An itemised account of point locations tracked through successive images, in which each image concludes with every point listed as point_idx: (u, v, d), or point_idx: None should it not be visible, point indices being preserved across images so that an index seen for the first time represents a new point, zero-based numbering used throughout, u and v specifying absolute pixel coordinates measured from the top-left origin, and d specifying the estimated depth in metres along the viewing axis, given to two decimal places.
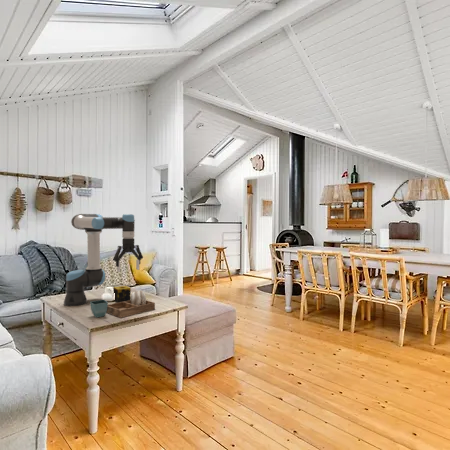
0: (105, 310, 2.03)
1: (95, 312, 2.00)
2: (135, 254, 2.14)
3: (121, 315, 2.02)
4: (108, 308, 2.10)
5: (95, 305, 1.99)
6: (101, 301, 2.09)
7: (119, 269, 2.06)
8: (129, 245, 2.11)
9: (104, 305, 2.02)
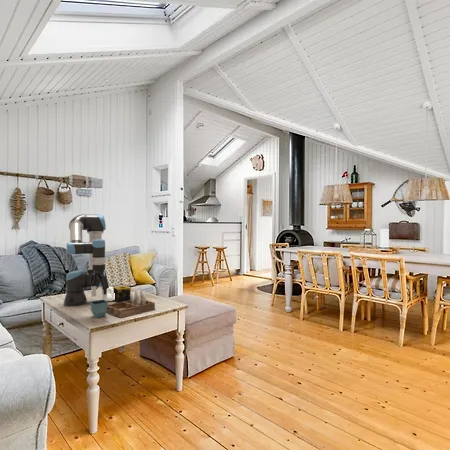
0: (105, 310, 2.03)
1: (95, 312, 2.00)
2: (100, 282, 2.00)
3: (121, 315, 2.02)
4: (108, 308, 2.10)
5: (95, 305, 1.99)
6: (101, 301, 2.09)
7: (91, 294, 2.08)
8: (97, 272, 2.03)
9: (104, 305, 2.02)
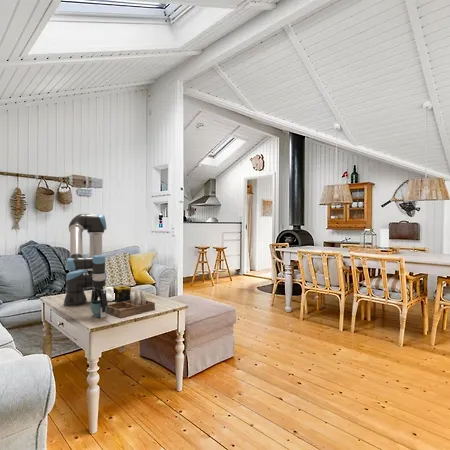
0: (105, 310, 2.03)
1: (95, 312, 2.00)
2: None
3: (121, 315, 2.02)
4: (108, 308, 2.10)
5: (95, 305, 1.99)
6: None
7: None
8: (97, 287, 2.03)
9: None
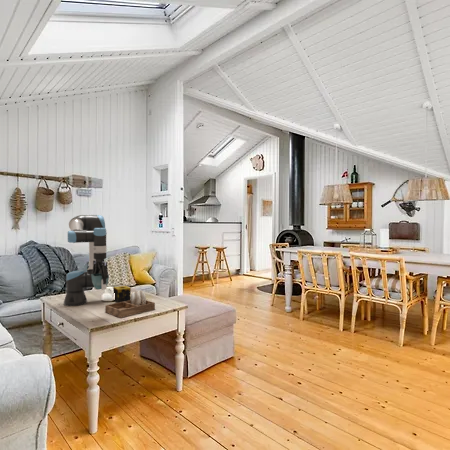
0: (106, 282, 2.03)
1: (96, 284, 2.00)
2: (100, 271, 2.02)
3: (121, 315, 2.02)
4: (108, 308, 2.10)
5: (96, 277, 1.99)
6: None
7: None
8: (98, 260, 2.04)
9: None
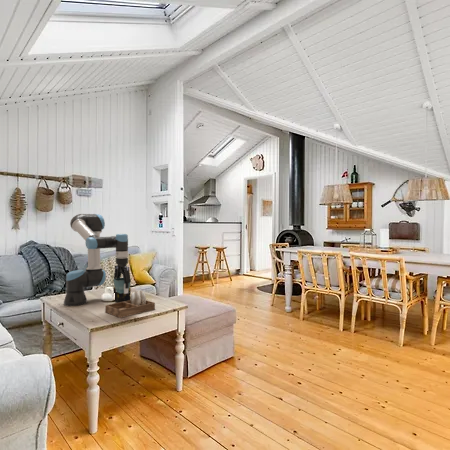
0: (128, 287, 2.11)
1: (119, 288, 2.07)
2: (123, 276, 2.09)
3: (121, 315, 2.02)
4: (108, 308, 2.10)
5: (119, 281, 2.07)
6: None
7: None
8: (120, 265, 2.11)
9: None
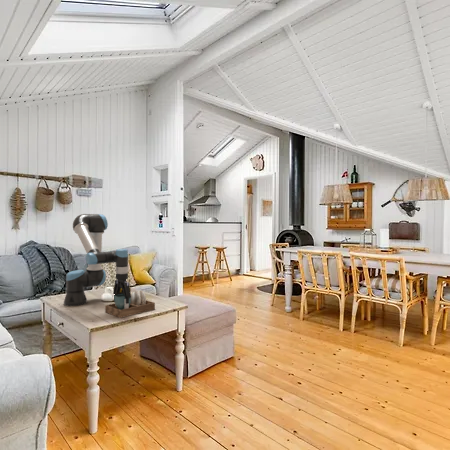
0: (129, 302, 2.10)
1: (120, 304, 2.07)
2: (123, 291, 2.09)
3: (121, 315, 2.02)
4: (108, 308, 2.10)
5: (119, 298, 2.06)
6: None
7: None
8: (120, 280, 2.11)
9: None
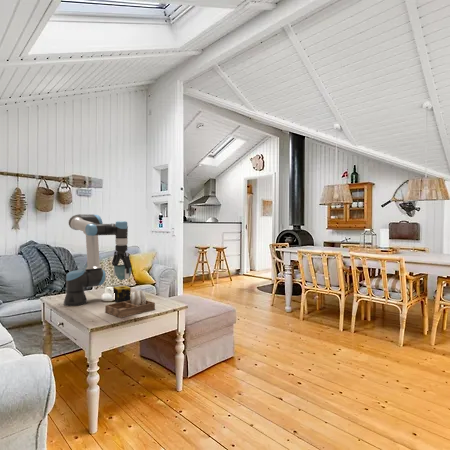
0: (129, 272, 2.11)
1: (120, 274, 2.08)
2: (123, 262, 2.10)
3: (121, 315, 2.02)
4: (108, 308, 2.10)
5: (120, 267, 2.07)
6: (124, 265, 2.17)
7: None
8: (119, 252, 2.13)
9: None
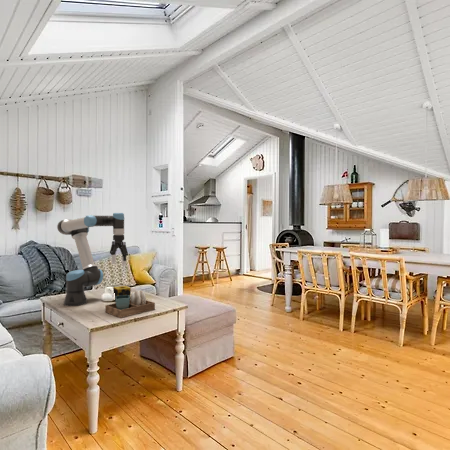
0: (127, 305, 2.11)
1: (117, 306, 2.09)
2: (120, 250, 2.26)
3: (121, 315, 2.02)
4: (108, 308, 2.10)
5: (117, 300, 2.08)
6: (126, 296, 2.18)
7: None
8: (117, 241, 2.29)
9: (126, 300, 2.10)
